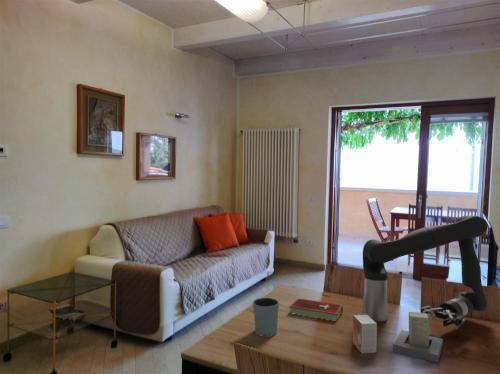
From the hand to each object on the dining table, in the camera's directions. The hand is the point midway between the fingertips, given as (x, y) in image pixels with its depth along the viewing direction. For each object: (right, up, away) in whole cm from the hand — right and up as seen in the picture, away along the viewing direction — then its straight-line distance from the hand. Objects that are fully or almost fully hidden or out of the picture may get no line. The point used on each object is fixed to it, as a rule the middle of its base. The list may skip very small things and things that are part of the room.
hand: (432, 319), depth 133 cm
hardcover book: (-38, -8, +28) cm, 47 cm away
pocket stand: (-8, -8, -5) cm, 12 cm away
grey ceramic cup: (-61, -8, +9) cm, 62 cm away
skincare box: (-8, -8, -5) cm, 13 cm away
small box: (-27, -8, -5) cm, 28 cm away
